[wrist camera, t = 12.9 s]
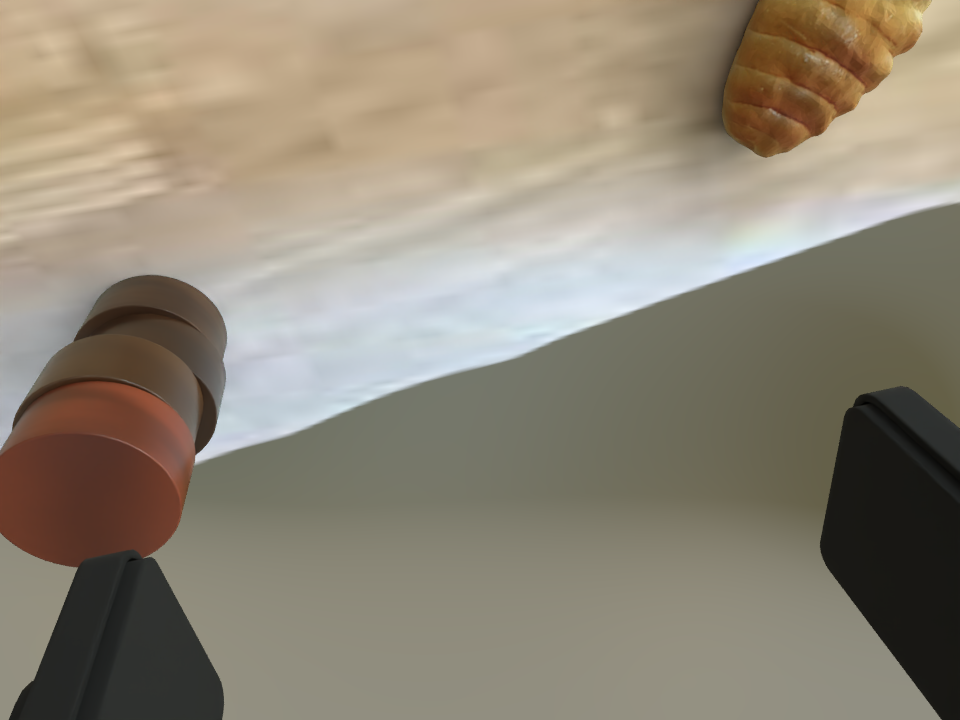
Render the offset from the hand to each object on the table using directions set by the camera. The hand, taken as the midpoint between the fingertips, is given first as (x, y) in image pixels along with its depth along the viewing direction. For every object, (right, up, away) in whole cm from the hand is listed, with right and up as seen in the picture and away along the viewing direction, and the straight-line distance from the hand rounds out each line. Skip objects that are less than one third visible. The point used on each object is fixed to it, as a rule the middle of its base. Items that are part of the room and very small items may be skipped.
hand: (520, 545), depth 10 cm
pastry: (+14, +17, +22) cm, 31 cm away
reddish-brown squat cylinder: (-14, -1, +17) cm, 22 cm away
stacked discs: (-16, +4, +24) cm, 29 cm away
